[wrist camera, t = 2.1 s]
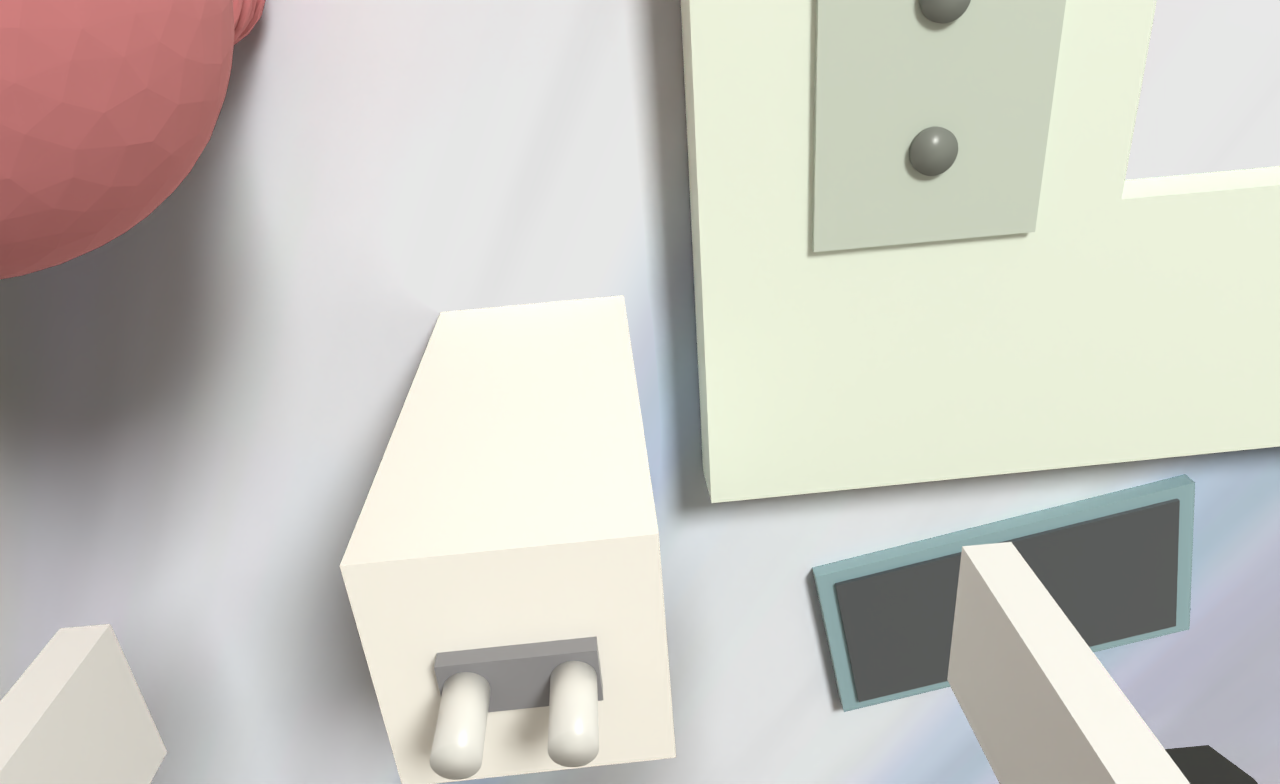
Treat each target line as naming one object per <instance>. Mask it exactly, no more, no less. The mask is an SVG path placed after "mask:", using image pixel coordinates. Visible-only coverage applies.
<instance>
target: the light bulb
mask: <svg viewBox="0 0 1280 784" xmlns="http://www.w3.org/2000/svg"><path fill="white" fill-rule="evenodd" d="M264 4H265V0H0V279H5V278H11V277H17V276H22V275H26V274H29V273H32V272H36V271H39V270H43V269H46V268H49V267H53V266H56V265H59V264H62V263H65V262H67V261H69V260H71V259H74V258H76V257H78V256H81V255H83V254H85V253H87V252H90V251H92V250H94V249H97V248H99V247H101V246H103V245H104V244H106V243H108V242H110V241H111V240H113V239H115V238H117V237H118V236H120V235H122V234H124V233H125V232H127V231H128V230H129V229H131V228H132V227H133V226H135V225H136V224H138V223H139V222H140V221H142V220H143V219H144V218H146V217H147V216H148V215H150V214H151V213H152V212H153V211H154V210H155V209H156V208H157V207H158V206H159V205H160V204H161V203H162V202H163V201H164V200H165V199H166V198H167V197H168V196H170V195H171V194H172V193H173V192H174V191H175V189H176V188H177V187H178V186H179V185H180V183H181V182H182V181H183V180H184V179H185V177H186V176H187V175H188V174H189V173H190V171H191V170H192V168H193V166H194V165H195V163H196V161H197V160H198V158H199V156H200V155H201V153H202V152H203V150H204V148H205V147H206V145H207V143H208V142H209V140H210V138H211V135H212V132H213V130H214V127H215V124H216V121H217V119H218V116H219V113H220V110H221V108H222V105H223V102H224V100H225V96H226V92H227V87H228V83H229V78H230V73H231V68H232V58H233V47H234V44H236V43H238V42H239V41H240V40H242V39H243V38H244V37H246V36H247V35H248V34H249V33H250V31H251V30H252V29H253V27H254V26H255V24H256V23H257V22H258V20H259V19H260V17H261V15H262V11H263V8H264Z"/></svg>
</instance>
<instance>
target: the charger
mask: <svg viewBox="0 0 1280 784" xmlns="http://www.w3.org/2000/svg"><path fill="white" fill-rule="evenodd" d="M340 569H341V573H342V576H343V580H344V583H345V587H346V590H347V594H348V597H349V601H350V604H351V608H352V611H353V615H354V618H355V622H356V625H357V629H358V632H359V636H360V639H361V643H362V646H363V650H364V653H365V657H366V660H367V664H368V667H369V671H370V674H371V678H372V681H373V685H374V688H375V692H376V695H377V699H378V702H379V706H380V709H381V713H382V716H383V720H384V723H385V727H386V730H387V734H388V738H389V741H390V745H391V748H392V752H393V755H394V759H395V762H396V766H397V769H398V773H399V776H400V780H401V783H402V784H435V783H444V782H454V781H463V780H472V779H482V778H491V777H500V776H509V775H519V774H528V773H537V772H547V771H556V770H565V769H574V768H584V767H593V766H602V765H612V764H621V763H630V762H640V761H649V760H658V759H667V758H676V750H675V738H674V725H673V712H672V699H671V686H670V673H669V660H668V647H667V634H666V621H665V609H664V596H663V583H662V570H661V557H660V544H659V533H658V526H657V519H656V512H655V505H654V498H653V492H652V485H651V478H650V471H649V464H648V458H647V451H646V444H645V437H644V430H643V424H642V417H641V410H640V403H639V396H638V389H637V383H636V376H635V369H634V362H633V355H632V349H631V342H630V335H629V328H628V321H627V314H626V308H625V301H624V295H621V296H610V297H599V298H588V299H577V300H566V301H556V302H545V303H534V304H523V305H512V306H502V307H491V308H480V309H469V310H458V311H448V312H440V315H439V318H438V320H437V323H436V325H435V328H434V330H433V333H432V335H431V338H430V340H429V343H428V345H427V348H426V350H425V353H424V355H423V358H422V360H421V363H420V365H419V368H418V370H417V373H416V375H415V378H414V380H413V383H412V385H411V388H410V390H409V393H408V395H407V398H406V401H405V403H404V406H403V408H402V411H401V413H400V416H399V418H398V421H397V423H396V426H395V428H394V431H393V433H392V436H391V438H390V441H389V443H388V446H387V448H386V451H385V453H384V456H383V458H382V461H381V463H380V466H379V468H378V471H377V473H376V476H375V478H374V481H373V483H372V486H371V489H370V491H369V494H368V496H367V499H366V501H365V504H364V506H363V509H362V511H361V514H360V516H359V519H358V521H357V524H356V526H355V529H354V531H353V534H352V536H351V539H350V541H349V544H348V546H347V549H346V551H345V554H344V556H343V559H342V561H341V564H340Z"/></svg>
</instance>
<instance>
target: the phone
mask: <svg viewBox="0 0 1280 784" xmlns="http://www.w3.org/2000/svg"><path fill="white" fill-rule="evenodd" d="M1194 498H1195V482H1194V481H1193V480H1191V479H1190V478H1189V477H1188V476H1187V475H1181V476H1177V477H1173V478H1169V479H1165V480H1161V481H1157V482H1153V483H1149V484H1145V485H1141V486H1137V487H1133V488H1129V489H1125V490H1121V491H1117V492H1113V493H1109V494H1105V495H1101V496H1097V497H1093V498H1089V499H1085V500H1081V501H1077V502H1073V503H1069V504H1065V505H1061V506H1057V507H1053V508H1049V509H1045V510H1041V511H1037V512H1033V513H1029V514H1025V515H1021V516H1017V517H1013V518H1009V519H1005V520H1001V521H997V522H993V523H989V524H985V525H981V526H977V527H973V528H969V529H965V530H961V531H957V532H953V533H949V534H945V535H941V536H937V537H933V538H929V539H925V540H921V541H917V542H913V543H909V544H905V545H901V546H897V547H893V548H889V549H885V550H881V551H877V552H873V553H869V554H865V555H861V556H857V557H853V558H849V559H845V560H841V561H837V562H833V563H829V564H825V565H821V566H817V567H813V568H812V570H813V575H814V579H815V584H816V589H817V594H818V598H819V603H820V608H821V612H822V617H823V622H824V627H825V631H826V636H827V641H828V646H829V650H830V655H831V660H832V664H833V669H834V674H835V679H836V683H837V688H838V693H839V698H840V702H841V705H842V707H843V710H844V712H846V711H850V710H855V709H859V708H863V707H867V706H871V705H875V704H880V703H884V702H888V701H892V700H896V699H901V698H905V697H909V696H913V695H917V694H921V693H926V692H930V691H934V690H938V689H942V688H946V687H951V686H950V684H949V682H948V680H947V678H948V669H949V660H950V651H951V642H952V633H953V624H954V615H955V606H956V597H957V588H958V579H959V570H960V561H961V553H962V546H971V545H982V544H993V543H1004V542H1012V544H1013V545H1014V546H1015V548H1016V549H1017V550H1018V552H1019V553H1020V554H1021V556H1022V557H1023V558H1024V560H1025V561H1026V562H1027V564H1028V565H1029V567H1030V568H1031V569H1032V571H1033V572H1034V573H1035V575H1036V576H1037V577H1038V579H1039V580H1040V581H1041V583H1042V584H1043V585H1044V587H1045V588H1046V590H1047V591H1048V592H1049V594H1050V595H1051V596H1052V598H1053V599H1054V600H1055V602H1056V603H1057V604H1058V606H1059V607H1060V608H1061V610H1062V611H1063V612H1064V614H1065V615H1066V617H1067V618H1068V619H1069V621H1070V622H1071V623H1072V625H1073V626H1074V627H1075V629H1076V630H1077V631H1078V633H1079V634H1080V635H1081V637H1082V638H1083V640H1084V641H1085V642H1086V644H1087V645H1088V646H1089V648H1090V649H1091V650H1092V652H1097V651H1101V650H1105V649H1109V648H1113V647H1117V646H1122V645H1126V644H1130V643H1134V642H1138V641H1142V640H1147V639H1151V638H1155V637H1159V636H1163V635H1167V634H1172V633H1176V632H1180V631H1184V630H1188V629H1189V626H1190V600H1191V575H1192V549H1193V523H1194Z"/></svg>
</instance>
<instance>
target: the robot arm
mask: <svg viewBox="0 0 1280 784" xmlns="http://www.w3.org/2000/svg"><path fill="white" fill-rule="evenodd" d="M947 680H948V682H949V684H950V686H951V688H952V690H953V692H954V694H955V696H956V698H957V700H958V702H959V704H960V706H961V708H962V710H963V712H964V714H965V716H966V718H967V720H968V722H969V724H970V726H971V728H972V730H973V732H974V734H975V736H976V738H977V740H978V742H979V744H980V746H981V748H982V750H983V752H984V754H985V756H986V758H987V760H988V762H989V764H990V765H991V767H992V769H993V771H994V773H995V775H996V777H997V779H998V781H999V783H1000V784H1258V783H1257V782H1256V781H1255V780H1254V779H1253V778H1252V777H1251V776H1249V775H1248V774H1246V773H1245V772H1244V771H1242V770H1241V769H1240V768H1238V767H1237V766H1236V765H1234V764H1233V763H1232V762H1230V761H1229V760H1228V759H1226V758H1225V757H1223V756H1222V755H1221V754H1219V753H1218V752H1217V751H1215V750H1214V749H1213V748H1211V747H1210V746H1209V745H1206V746H1195V747H1185V748H1174V749H1164V748H1163V746H1162V745H1161V744H1160V742H1159V741H1158V740H1157V738H1156V737H1155V736H1154V734H1153V733H1152V731H1151V730H1150V729H1149V727H1148V726H1147V725H1146V723H1145V722H1144V721H1143V719H1142V718H1141V717H1140V715H1139V714H1138V713H1137V711H1136V710H1135V708H1134V707H1133V706H1132V704H1131V703H1130V702H1129V700H1128V699H1127V698H1126V696H1125V695H1124V694H1123V692H1122V691H1121V690H1120V688H1119V687H1118V685H1117V684H1116V683H1115V681H1114V680H1113V679H1112V677H1111V676H1110V675H1109V673H1108V672H1107V671H1106V669H1105V668H1104V667H1103V665H1102V664H1101V663H1100V661H1099V660H1098V658H1097V657H1096V656H1095V654H1094V653H1093V652H1092V650H1091V649H1090V648H1089V646H1088V645H1087V644H1086V642H1085V641H1084V640H1083V638H1082V637H1081V635H1080V634H1079V633H1078V631H1077V630H1076V629H1075V627H1074V626H1073V625H1072V623H1071V622H1070V621H1069V619H1068V618H1067V617H1066V615H1065V614H1064V612H1063V611H1062V610H1061V608H1060V607H1059V606H1058V604H1057V603H1056V602H1055V600H1054V599H1053V598H1052V596H1051V595H1050V594H1049V592H1048V591H1047V590H1046V588H1045V587H1044V585H1043V584H1042V583H1041V581H1040V580H1039V579H1038V577H1037V576H1036V575H1035V573H1034V572H1033V571H1032V569H1031V568H1030V567H1029V565H1028V564H1027V562H1026V561H1025V560H1024V558H1023V557H1022V556H1021V554H1020V553H1019V552H1018V550H1017V549H1016V548H1015V546H1014V545H1013V544H1012V542H1004V543H993V544H982V545H971V546H962V553H961V561H960V570H959V579H958V588H957V597H956V606H955V615H954V624H953V633H952V642H951V651H950V660H949V669H948V678H947ZM166 754H167V750H166V748H165V746H164V744H163V741H162V739H161V737H160V735H159V732H158V730H157V728H156V726H155V723H154V721H153V719H152V717H151V714H150V712H149V710H148V708H147V705H146V703H145V701H144V699H143V696H142V694H141V692H140V690H139V687H138V685H137V683H136V681H135V678H134V676H133V674H132V672H131V669H130V667H129V665H128V663H127V660H126V658H125V656H124V654H123V651H122V649H121V647H120V644H119V642H118V640H117V638H116V635H115V633H114V631H113V629H112V626H111V624H104V625H93V626H82V627H71V628H60V629H59V630H58V632H57V633H56V634H55V635H54V636H53V638H52V639H51V640H50V641H49V643H48V644H47V645H46V646H45V647H44V649H43V650H42V651H41V652H40V654H39V655H38V656H37V657H36V658H35V660H34V661H33V662H32V663H31V665H30V666H29V667H28V668H27V670H26V671H25V672H24V673H23V674H22V676H21V677H20V678H19V679H18V681H17V682H16V683H15V684H14V685H13V687H12V688H11V689H10V690H9V692H8V693H7V694H6V695H5V696H4V698H3V699H2V700H1V701H0V784H150V783H151V781H152V779H153V777H154V776H155V774H156V772H157V770H158V768H159V767H160V765H161V763H162V761H163V759H164V757H165V756H166Z"/></svg>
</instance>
